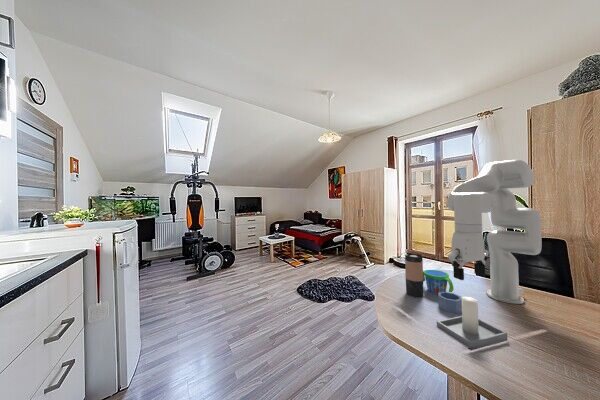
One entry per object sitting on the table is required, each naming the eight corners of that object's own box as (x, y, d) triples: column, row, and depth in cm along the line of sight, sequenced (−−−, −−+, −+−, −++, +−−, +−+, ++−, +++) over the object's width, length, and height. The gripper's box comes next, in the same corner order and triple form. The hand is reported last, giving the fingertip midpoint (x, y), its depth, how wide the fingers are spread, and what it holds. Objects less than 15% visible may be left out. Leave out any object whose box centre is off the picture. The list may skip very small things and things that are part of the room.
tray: (469, 320, 81) (469, 314, 81) (507, 340, 69) (507, 333, 69) (436, 327, 77) (436, 321, 77) (471, 350, 65) (470, 342, 65)
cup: (448, 304, 94) (448, 290, 94) (467, 313, 86) (466, 299, 86) (434, 307, 92) (433, 293, 92) (451, 316, 84) (451, 301, 84)
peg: (468, 325, 76) (468, 295, 76) (481, 333, 72) (481, 301, 71) (459, 328, 75) (458, 297, 75) (472, 336, 71) (471, 303, 70)
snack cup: (415, 288, 111) (415, 268, 111) (432, 285, 114) (431, 267, 114) (441, 301, 96) (440, 279, 96) (459, 298, 98) (459, 277, 98)
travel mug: (426, 300, 98) (425, 257, 98) (408, 299, 99) (407, 257, 99) (420, 293, 105) (419, 253, 105) (403, 292, 107) (403, 253, 107)
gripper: (475, 225, 79) (476, 270, 79) (438, 228, 75) (440, 276, 75) (498, 228, 72) (499, 277, 72) (459, 231, 67) (461, 284, 68)
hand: (469, 276), depth 73 cm, fingers open, 9 cm apart
